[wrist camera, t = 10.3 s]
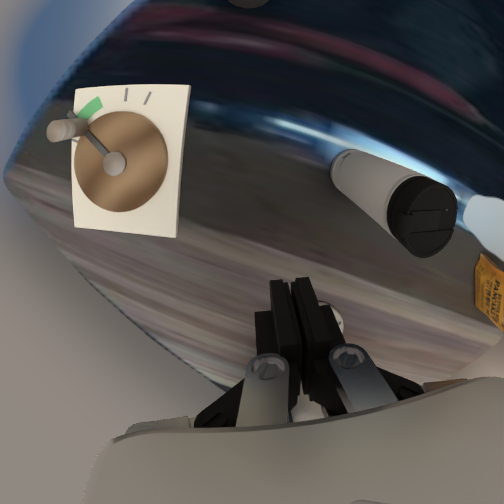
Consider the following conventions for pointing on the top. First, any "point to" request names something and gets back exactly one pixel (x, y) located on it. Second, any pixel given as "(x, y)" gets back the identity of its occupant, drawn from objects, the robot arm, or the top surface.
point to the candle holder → (248, 3)
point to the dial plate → (173, 131)
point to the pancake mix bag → (490, 290)
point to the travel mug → (398, 200)
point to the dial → (115, 158)
